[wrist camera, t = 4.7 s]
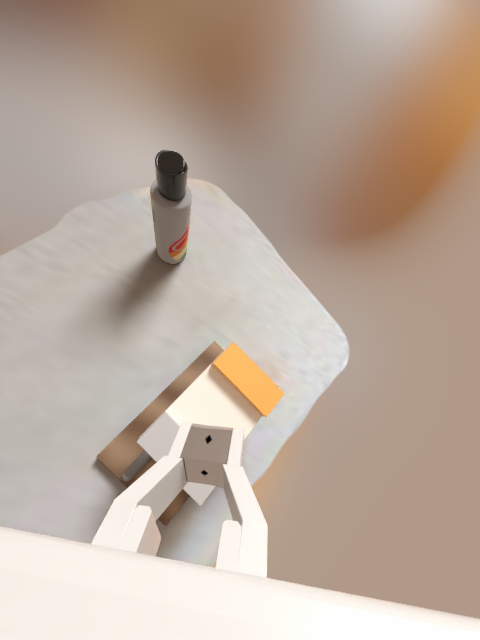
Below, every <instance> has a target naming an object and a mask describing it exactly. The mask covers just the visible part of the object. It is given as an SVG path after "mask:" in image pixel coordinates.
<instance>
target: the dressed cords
mask: <svg viewBox="0 0 480 640" xmlns="http://www.w3.org/2000/svg"><path fill="white" fill-rule="evenodd" d="M150 458H151V456H150V455H149V454H148V453H147V452H146V451H145V450H144V451H143V452H142V453H141V454H140V456H139V457H138V458H137V459H136V460H135V461H134V462H133V463H132V464H131V465H130V466H129V467H128V468H127V469H126V470H125V471H124V473H123V475H122V479H123V481H125V482H127V481H129V480H131V479H132V477H133V476H134V475H135V474H136V473H137V472H138V471H139V470H140V469H141V468H142V467H143V465H144V464H145V463H146V462H147V461H148V460H149V459H150Z"/></svg>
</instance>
